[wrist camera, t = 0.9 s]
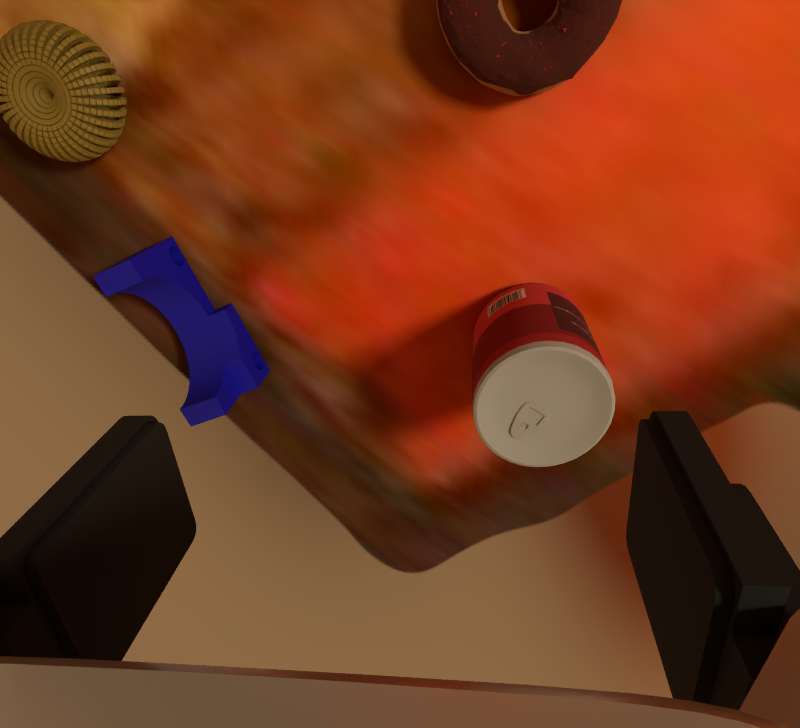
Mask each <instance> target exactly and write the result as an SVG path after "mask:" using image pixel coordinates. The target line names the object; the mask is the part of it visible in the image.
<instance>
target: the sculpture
mask: <svg viewBox="0 0 800 728" xmlns="http://www.w3.org/2000/svg"><path fill="white" fill-rule="evenodd" d="M15 41H16V42H15ZM49 44H50V45H49ZM73 46H74V47H73ZM43 48H44V49H43ZM87 52H88V53H87ZM28 58H29V59H28ZM73 59H74V60H73ZM101 61H102V62H101ZM93 62H94V63H93ZM27 64H28V65H27ZM26 65H27V66H26ZM106 70H107V71H106ZM105 71H106V72H105ZM104 72H105V73H104ZM103 73H104V75H102V74H103ZM115 73H116V69H115V66H114V65H113V64H112V63H110V59H109V57H108V56H107V55H106V53H104V52H103V51H102V50H101V48H100V47H99V46H98V45H97V44H95V43H94V42H93V41H92V40H91V39H90V38H88V36H86V35H84V34H82V33H81V32H80V31H78V30H76V29H75V28H73V27H69V26H67V25H65V24H62V23H58V22H57V23H55V22H52V21H47V20H45V21H40V20H38V21H31V22H27V23H26V22H25V23H24V24H23V23H22V24H20V25H18V26H16V27H15V28H12V30H9V32H8V33H7V34H5V35H4V36H3V37H2V38H1V40H0V94H5V95H9V96H0V102H8V103H5V104H3V105H2V106H1V105H0V114H2V113H3V114H4V116H3V119H4V121H5V122H6V124H7V123H8V125H9V126H10V129H11V130H12V131H13V132H14V134H15V133H16V135H17V136H18V137H19V139H20V140H21V141H23V142H24V143H26V144H27V145H28V146H30V148H32V149H34V150H36V151H37V152H40V154H42V155H44V156H48V157H50V158H52V159H56V160H59V159H60V161H65V162H71V161H72V162H81V161H86V160H88V161H89V160H91V159H94V158H97V157H99V156H100V155H103V154H104V153H105V152H107V151H108V150H110V149H111V148H112V146H113V145H114V144H115V143H116V142H117V141H118V137H119V135H121V133H122V131H123V126H124V125H125V121H126V120H125V118H124V116H126V113H127V109H126V108H125V107H124V106H122V104H123V105H125V104H127V103H126V98H123V97H121V96H112V95H107V94H112V93H124V92H125V91H124V87H111V88H106V87H110V86H112V85H113V86H114V85H116V84H117V83H120V82H121V78H120V76H119V75H114V74H115ZM100 83H101V84H100ZM105 94H106V95H105ZM28 100H29V101H28ZM10 101H11V102H10ZM9 102H10V103H9ZM108 106H109V107H108ZM110 107H112V108H110ZM101 108H102V109H101ZM113 108H114V109H116V110H114V109H113ZM115 117H116V118H115ZM12 118H13V119H12ZM117 119H118V120H117ZM78 125H79V126H78ZM68 143H69V144H68ZM74 148H75V149H74Z"/></svg>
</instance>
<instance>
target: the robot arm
mask: <svg viewBox="0 0 800 728" xmlns="http://www.w3.org/2000/svg"><path fill="white" fill-rule="evenodd" d="M195 533H196V522H195V518H194V515H193V512H192V509H191V506H190V503H189V500H188V496H187V493H186V490H185V487H184V484H183V480H182V477H181V475H180V471H179V468H178V465H177V462H176V458H175V455H174V452H173V449H172V446H171V443H170V439H169V436H168V433H167V430H166V428H165V426H164V425H163V424H162V423H159V422H158V421H157V419H156V418H155V417H153V416H124V417H122V418H121V419H119V420H118V421H117V422H116V423H115V424H114V425H113V426H112V427H111V428H110V429H109V430H108V431H107V432H106V433H105V434H104V435H103V436H102V437H101V438H100V439H99V440H98V441H97V442H96V443H95V444H94V445H93V446H92V447H91V448H90V449H89V450H88V451H87V452H86V453H85V454H84V455H83V456H82V457H81V458H80V459H79V460H78V461H77V462H76V463H75V464H74V465H73V466H72V467H71V468H70V469H69V470H68V471H67V472H66V473H65V474H64V475H63V476H62V477H61V478H60V479H59V480H58V481H57V482H56V483H55V484H54V485H53V486H52V487H51V488H50V489H49V490H48V491H47V492H46V493H45V494H44V495H43V496H42V497H41V498H40V499H39V500H38V501H37V502H36V503H35V504H34V505H33V506H32V507H31V508H30V509H29V510H28V511H27V512H26V513H25V514H24V515H23V516H22V517H21V518H20V519H19V520H18V521H17V522H16V523H15V524H14V525H13V526H12V527H11V528H10V529H9V530H8V531H7V532H6V533H5V534H4V535H3V536H2V537H1V538H0V728H800V570H799V569H798V567H797V566H796V564H795V563H794V561H793V559H792V558H791V556H790V555H789V553H788V551H787V550H786V548H785V547H784V545H783V543H782V542H781V540H780V539H779V537H778V535H777V534H776V532H775V531H774V529H773V527H772V526H771V524H770V523H769V521H768V520H767V518H766V516H765V515H764V513H763V512H762V510H761V508H760V507H759V505H758V504H757V502H756V501H755V499H754V497H753V496H752V494H751V492H750V491H749V490H748V489H747V488H746V486H744V485H742V484H730V483H729V481H728V479H727V477H726V476H725V474H724V472H723V471H722V469H721V467H720V465H719V464H718V463H717V461H716V459H715V457H714V455H713V454H712V452H711V450H710V448H709V447H708V445H707V444H706V442H705V440H704V438H703V437H702V435H701V433H700V432H699V430H698V428H697V427H696V425H695V423H694V422H693V420H692V418H691V416H690V415H689V414H688V412H686V411H653V412H652V413H651V415H650V419H642V420H640V423H639V428H638V437H637V445H636V454H635V462H634V471H633V479H632V488H631V496H630V505H629V514H628V522H627V531H626V539H627V547H628V551H629V555H630V558H631V562H632V565H633V568H634V571H635V574H636V578H637V581H638V584H639V588H640V591H641V594H642V598H643V601H644V604H645V607H646V611H647V614H648V617H649V621H650V624H651V627H652V631H653V634H654V637H655V640H656V644H657V647H658V650H659V653H660V657H661V660H662V664H663V667H664V670H665V673H666V677H667V680H668V683H669V687H670V690H671V693H672V696H673V698H666V697H658V696H650V695H642V694H633V693H622V692H609V691H597V690H584V689H572V688H559V687H547V686H534V685H521V684H520V685H519V684H505V683H489V682H473V681H457V680H441V679H426V678H410V677H394V676H378V675H362V674H345V673H327V672H309V671H293V670H277V669H259V668H240V667H224V666H206V665H187V664H168V663H167V664H166V663H148V662H147V663H146V662H128V661H122V659H123V657H124V656H125V654H126V652H127V651H128V649H129V647H130V646H131V644H132V642H133V641H134V639H135V637H136V635H137V633H138V632H139V631H140V629H141V627H142V626H143V623H144V622H145V621H146V619H147V617H148V615H149V614H150V612H151V610H152V609H153V607H154V605H155V603H156V602H157V600H158V599H159V597H160V595H161V594H162V592H163V590H164V589H165V587H166V585H167V584H168V582H169V580H170V579H171V577H172V575H173V574H174V572H175V570H176V568H177V567H178V565H179V563H180V562H181V560H182V558H183V557H184V555H185V553H186V552H187V550H188V548H189V547H190V545H191V543H192V542H193V540H194V537H195Z"/></svg>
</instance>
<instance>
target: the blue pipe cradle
mask: <svg viewBox="0 0 800 728" xmlns="http://www.w3.org/2000/svg"><path fill="white" fill-rule="evenodd" d="M93 278H94V279H95V281H96V282H97V284H98V285H99V287H100V288H101V290H102V291H103V293H104V294H105V296H106V297H107V296H110V295H112V294H115V293H129V294H133V295H136V296H139V297H141V298H143V299H145V300H147V301H148V302H150V303H151V304H152V305H154V306H155V307H156V308H157V309H158V310H159V311H161V313H162V314H163V315H164V316H165V317H166V318H167V319H168V321H169V322H170V323H171V325H172V326H173V327H174V329H175V331H176V332H177V334H178V336H179V338H180V340H181V342H182V344H183V347H184V350H185V353H186V356H187V360H188V365H189V372H190V384H189V391H188V395H187V398H186V401H185V403H184V404H183V406H182V407H181V409H180V410H181V412H182V413H183V415H184V416H185V418H186V420H187V421H188V423H189V424H190V426H194V425H197V424H200V423H203V422H205V421H208V420H211V419H214V418H217V417H220V416H223V415H226V414H227V412H228V411H229V410H230V408H231V407H232V405H233V404H234V403H235V401H236V400H237V399H238V397H239V396H240V394H242V393H244V392H247V391H250V390H253V389H256V388H258V387H259V386H260V384H261V383H262V381H263V380H264V378H265V377H266V375H267V374H268V372H269V371H270V370H269V368H268V366H267V365H266V363H265V361H264V359H263V357H262V356H261V354H260V352H259V350H258V349H257V347H256V345H255V343H254V342H253V340H252V338H251V336H250V335H249V333H248V331H247V329H246V328H245V326H244V324H243V322H242V321H241V319H240V317H239V315H238V314H237V312H236V310H235V308H234V307H233V305H232V303H231V304H228V305H226V306H223V307H221V308H218V309H216V310H215V309H214V307H213V306H212V304H211V302H210V300H209V299H208V297H207V295H206V294H205V292H204V290H203V288H202V287H201V285H200V283H199V282H198V280H197V278H196V276H195V275H194V273H193V271H192V270H191V268H190V266H189V264H188V263H187V261H186V259H185V258H184V256H183V254H182V252H181V251H180V249H179V247H178V246H177V244H176V242H175V241H174V239H173V237H170V238H168V239H165V240H163V241H161V242H159V243H157V244H154V245H152V246H150V247H148V248H146V249H143V250H141V251H139V252H137V253H135V254H133V255H132V256H130V257H128V258H126V259H124V260H122V261H120V262H118V263H117V264H115V265H113V266H111V267H109V268H107V269H105V270H103V271H102V272H100V273H98V274H96V275H94V276H93Z"/></svg>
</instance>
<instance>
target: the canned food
mask: <svg viewBox="0 0 800 728" xmlns="http://www.w3.org/2000/svg"><path fill="white" fill-rule="evenodd" d="M472 406H473V417H474V422H475V425H476V428H477V432H478V433H479V435H480V437H481V439H482V440H483V442H484V443H485V444H486V445H487V446H488V447H489V449H490V450H491V451H493V452H494V453H495V454H497V455H498V456H500V457H501V458H503V459H505V460H507V461H510V462H512V463H515V464H519V465H523V466H531V467H547V466H554V465H558V464H563V463H565V462H568V461H570V460H573V459H575V458H577V457H579V456H581V455H582V454H584V453H586V452H587V451H588V450H590V449H591V448H592V447H593V446H594V445H596V444H597V443H598V441H599V440H600V439H601V438H602V437H603V435H604V434H605V433H606V431H607V429H608V427H609V425H610V423H611V421H612V417H613V414H614V411H615V395H614V389H613V384H612V380H611V378H610V376H609V372H608V370H607V368H606V366H605V363H604V361H603V359H602V357H601V355H600V352H599V350H598V348H597V346H596V344H595V341H594V339H593V337H592V335H591V333H590V331H589V328H588V326H587V324H586V322H585V320H584V317H583V315H582V313H581V311H580V309H579V307H578V305H577V304H576V303H575V301H574V300H573V299H572V298H571V297H570V296H568V295H567V294H566V293H565V292H563V291H561V290H559V289H557V288H555V287H552V286H549V285H545V284H539V283H527V284H520V285H517V286H513V287H510V288H508V289H506V290H504V291H502V292H501V293H499V294H498V295H497V296H495V297H494V298H493V299H492V300H491V301H490V302H489V303H488V304H487V305H486V306H485V307H484V309H483V310H482V312H481V313H480V315H479V317H478V319H477V322H476V324H475V327H474V333H473V366H472Z"/></svg>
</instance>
